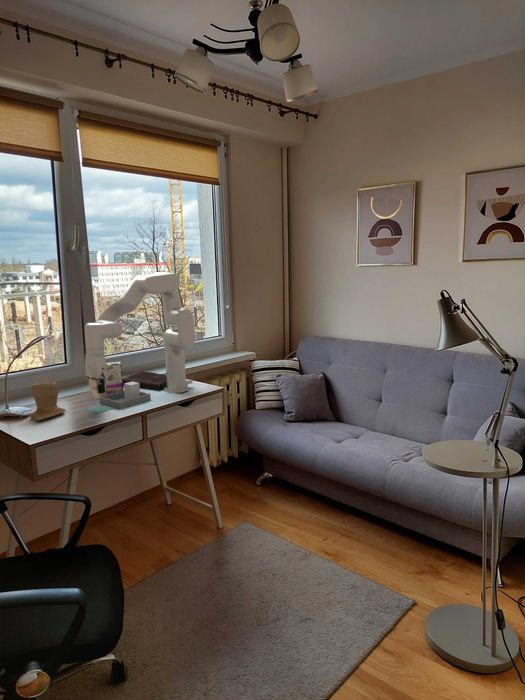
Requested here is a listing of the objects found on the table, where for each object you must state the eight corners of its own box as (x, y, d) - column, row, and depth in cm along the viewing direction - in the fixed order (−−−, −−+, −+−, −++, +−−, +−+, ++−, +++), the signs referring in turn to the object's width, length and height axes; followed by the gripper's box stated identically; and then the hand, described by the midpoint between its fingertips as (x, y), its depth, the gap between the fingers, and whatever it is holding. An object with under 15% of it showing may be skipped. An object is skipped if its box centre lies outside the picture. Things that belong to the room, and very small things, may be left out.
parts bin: (131, 395, 243) (130, 388, 243) (150, 401, 235) (150, 393, 234) (100, 404, 230) (99, 397, 229) (119, 410, 221) (119, 402, 220)
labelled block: (99, 394, 223) (98, 376, 222) (106, 396, 220) (105, 377, 219) (89, 396, 219) (88, 378, 218) (96, 398, 216) (95, 380, 215)
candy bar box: (122, 393, 248) (120, 361, 245) (124, 396, 243) (121, 363, 240) (99, 395, 244) (96, 363, 241) (100, 398, 239) (97, 365, 236)
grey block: (133, 397, 239) (132, 381, 237) (140, 399, 236) (139, 383, 234) (124, 400, 235) (123, 383, 233) (131, 401, 232) (130, 385, 230)
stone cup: (51, 409, 223) (48, 377, 220) (70, 413, 217) (67, 380, 214) (21, 419, 209) (17, 385, 207) (40, 424, 204) (36, 388, 201)
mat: (100, 406, 227) (100, 404, 227) (114, 410, 221) (114, 408, 221) (85, 410, 221) (85, 409, 221) (98, 414, 215) (98, 413, 215)
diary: (159, 393, 250) (158, 383, 249) (120, 388, 261) (119, 378, 260) (180, 384, 267) (180, 375, 266) (143, 379, 277) (142, 370, 276)
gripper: (76, 350, 218) (79, 390, 222) (99, 355, 208) (102, 397, 211) (91, 348, 224) (94, 387, 228) (114, 352, 214) (116, 393, 217)
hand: (97, 391), depth 219 cm, fingers closed on labelled block, 5 cm apart
